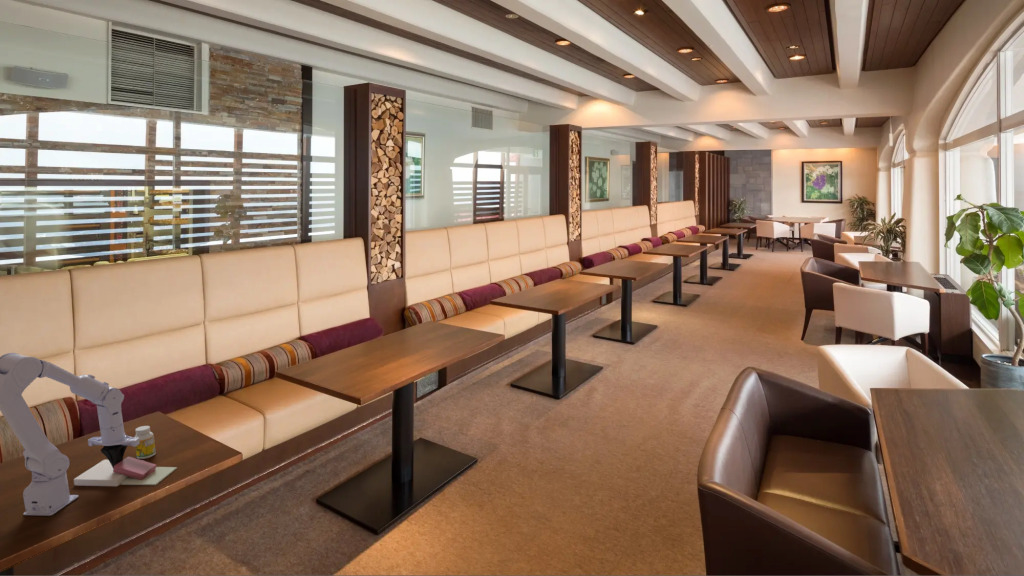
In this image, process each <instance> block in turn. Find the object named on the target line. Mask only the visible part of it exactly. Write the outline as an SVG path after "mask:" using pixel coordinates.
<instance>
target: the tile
mask: <svg viewBox="0 0 1024 576" xmlns="http://www.w3.org/2000/svg"><path fill="white" fill-rule="evenodd" d="M142 460H143V459H139V458H137V457H136V458H135V457H132V456H127V457H125V458H123V460H122V461H121V462H119V463H118V464H116V465H115V466H114V469H113V472H115V473H119V474H122V475H125V476H129V477H132V478H136V479H139V480H143V479H144V478H146V477H147V476H148V475H150V474H151V473H152V472H154V471H155V470H156V467H157V464H156V463H152V462H149V461H145V460H144V461H142Z"/></svg>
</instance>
